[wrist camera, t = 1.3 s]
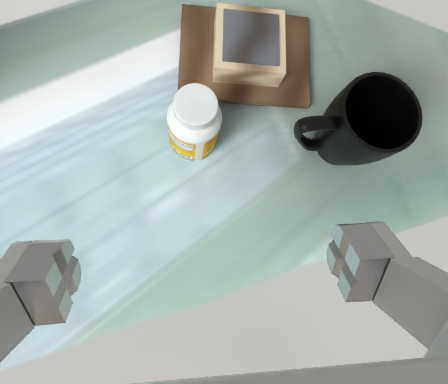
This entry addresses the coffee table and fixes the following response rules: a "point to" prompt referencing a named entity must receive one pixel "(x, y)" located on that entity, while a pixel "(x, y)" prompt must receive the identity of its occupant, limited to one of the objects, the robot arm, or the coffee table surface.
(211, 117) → the supplement bottle
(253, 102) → the wooden stand
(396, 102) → the mug
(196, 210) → the coffee table surface
